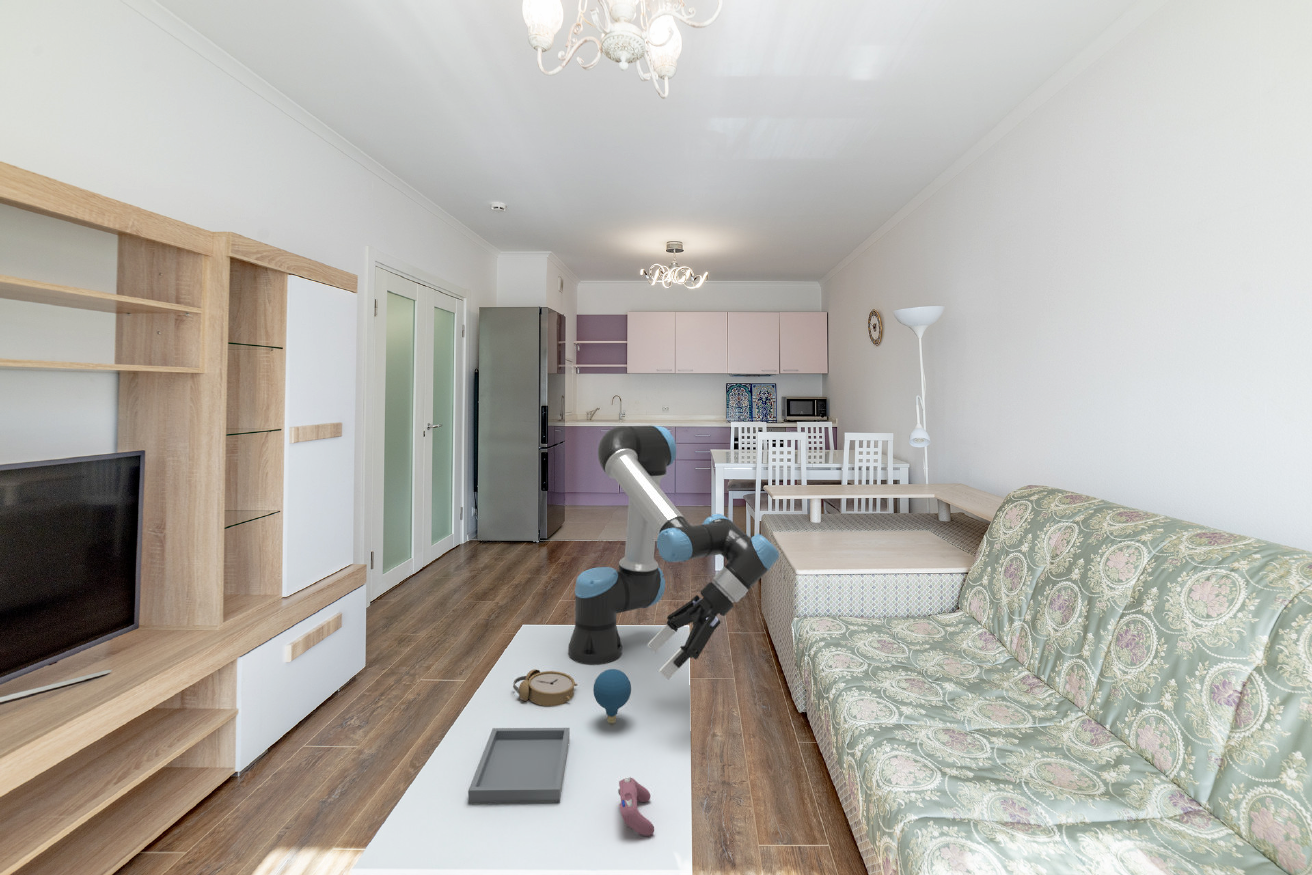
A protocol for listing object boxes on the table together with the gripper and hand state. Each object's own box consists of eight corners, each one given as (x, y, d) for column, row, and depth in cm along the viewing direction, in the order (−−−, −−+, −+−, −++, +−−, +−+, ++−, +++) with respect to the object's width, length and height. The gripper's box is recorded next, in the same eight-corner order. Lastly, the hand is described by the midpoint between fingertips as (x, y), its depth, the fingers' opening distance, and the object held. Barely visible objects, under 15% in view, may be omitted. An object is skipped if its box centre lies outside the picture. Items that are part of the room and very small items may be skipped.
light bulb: (625, 735, 128) (626, 681, 127) (587, 730, 130) (588, 676, 129) (634, 715, 136) (635, 664, 136) (599, 711, 138) (600, 660, 137)
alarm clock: (569, 697, 139) (508, 681, 140) (565, 717, 139) (504, 700, 141) (580, 675, 150) (523, 660, 151) (577, 693, 150) (520, 678, 152)
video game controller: (629, 807, 108) (612, 774, 108) (652, 795, 108) (635, 763, 108) (631, 848, 98) (613, 812, 98) (656, 835, 99) (638, 799, 98)
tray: (492, 739, 126) (492, 728, 125) (569, 738, 126) (569, 727, 126) (468, 803, 106) (468, 790, 105) (559, 802, 107) (559, 789, 106)
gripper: (753, 623, 124) (681, 699, 122) (717, 586, 149) (657, 648, 147) (730, 599, 123) (657, 675, 121) (697, 565, 147) (636, 628, 145)
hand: (657, 661), depth 134 cm, fingers open, 13 cm apart
